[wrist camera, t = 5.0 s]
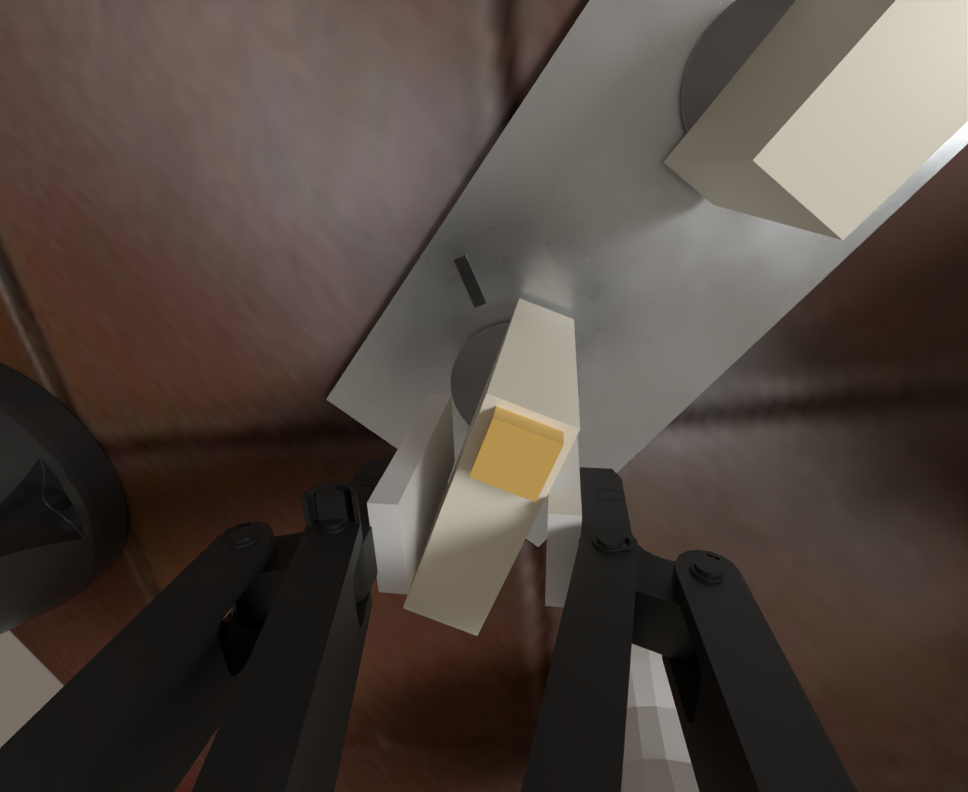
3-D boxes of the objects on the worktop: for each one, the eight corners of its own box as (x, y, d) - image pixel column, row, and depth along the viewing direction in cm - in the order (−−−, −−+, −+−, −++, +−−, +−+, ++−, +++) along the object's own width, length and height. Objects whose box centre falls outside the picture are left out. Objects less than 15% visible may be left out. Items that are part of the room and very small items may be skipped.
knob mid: (626, 133, 17) (695, 98, 8) (801, -95, 15) (1200, -533, 5) (741, 231, 18) (921, 300, 9) (929, 32, 15) (1473, -167, 6)
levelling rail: (333, 392, 24) (320, 404, 23) (1408, -1230, 9) (1552, -1470, 7) (538, 536, 26) (537, 555, 24) (1748, -615, 10) (1915, -725, 9)
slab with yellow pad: (431, 430, 23) (343, 605, 14) (483, 281, 20) (415, 379, 11) (541, 472, 23) (526, 674, 14) (610, 329, 20) (647, 467, 11)
